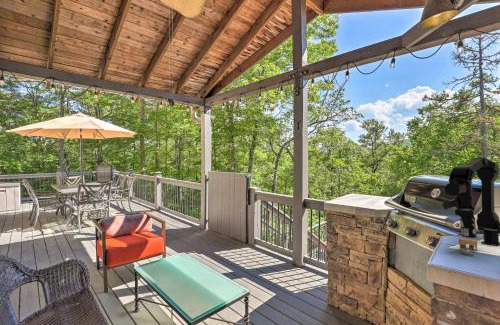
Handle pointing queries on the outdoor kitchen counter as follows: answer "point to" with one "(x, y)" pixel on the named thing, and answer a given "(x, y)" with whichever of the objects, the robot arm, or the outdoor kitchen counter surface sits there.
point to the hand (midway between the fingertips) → (466, 228)
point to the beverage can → (471, 229)
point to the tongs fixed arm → (468, 250)
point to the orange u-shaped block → (467, 242)
